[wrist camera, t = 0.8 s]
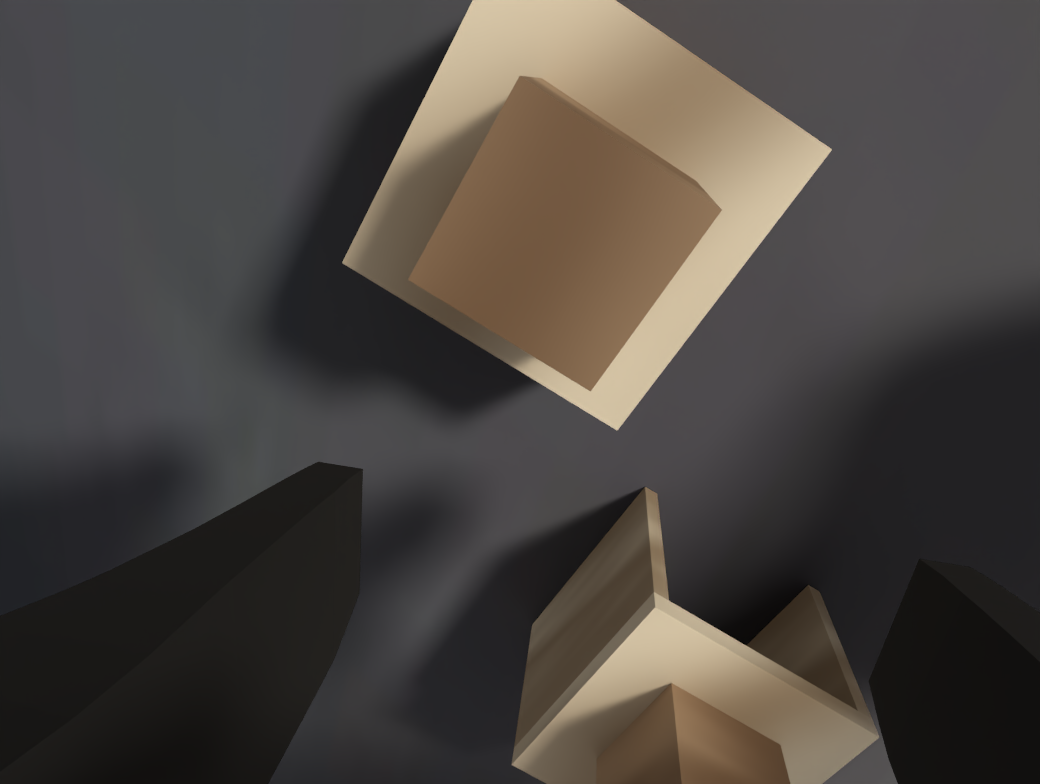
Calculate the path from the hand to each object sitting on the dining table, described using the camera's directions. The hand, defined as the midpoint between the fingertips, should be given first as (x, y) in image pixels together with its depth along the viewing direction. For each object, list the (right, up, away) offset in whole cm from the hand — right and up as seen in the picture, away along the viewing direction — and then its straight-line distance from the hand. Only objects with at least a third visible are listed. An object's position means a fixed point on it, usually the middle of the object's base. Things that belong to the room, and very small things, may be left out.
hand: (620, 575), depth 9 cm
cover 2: (+3, -4, +12) cm, 13 cm away
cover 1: (0, +7, +7) cm, 10 cm away
